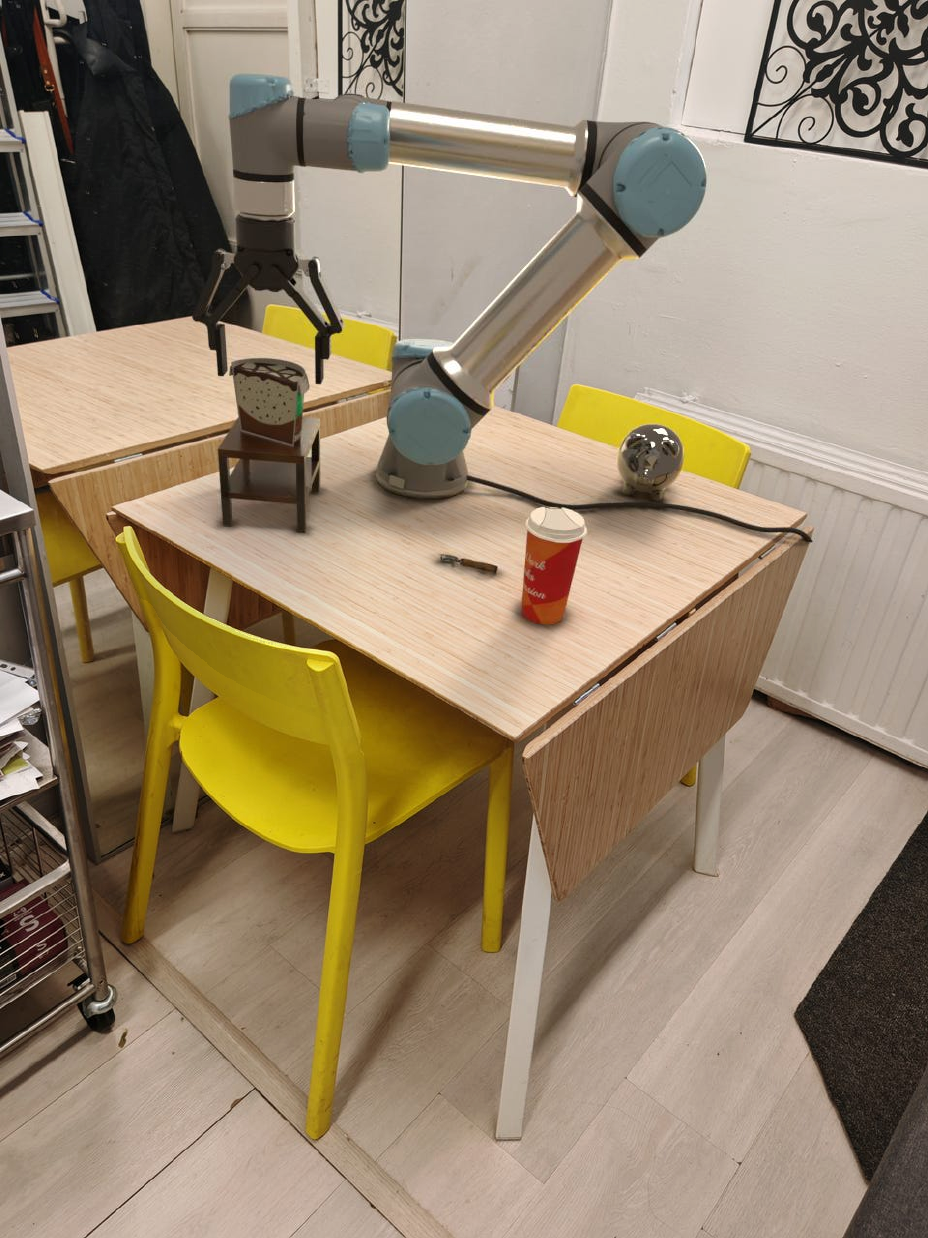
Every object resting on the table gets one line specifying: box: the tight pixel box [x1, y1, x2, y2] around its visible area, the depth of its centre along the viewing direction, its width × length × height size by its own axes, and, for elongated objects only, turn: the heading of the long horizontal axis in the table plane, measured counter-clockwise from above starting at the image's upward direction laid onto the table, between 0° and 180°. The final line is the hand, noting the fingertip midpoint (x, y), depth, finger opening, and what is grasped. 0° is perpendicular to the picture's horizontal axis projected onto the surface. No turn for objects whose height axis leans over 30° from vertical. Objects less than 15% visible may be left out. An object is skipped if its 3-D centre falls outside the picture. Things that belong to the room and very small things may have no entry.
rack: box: [217, 416, 321, 534], centre depth 134 cm, size 12×15×12 cm
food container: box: [228, 357, 311, 447], centre depth 129 cm, size 12×6×10 cm, turn 64°
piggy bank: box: [616, 423, 686, 502], centre depth 151 cm, size 11×15×12 cm
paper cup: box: [521, 506, 588, 626], centre depth 115 cm, size 8×8×14 cm
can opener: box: [437, 553, 499, 574], centre depth 127 cm, size 9×2×1 cm, turn 65°
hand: (271, 377), depth 127 cm, fingers open, 13 cm apart
